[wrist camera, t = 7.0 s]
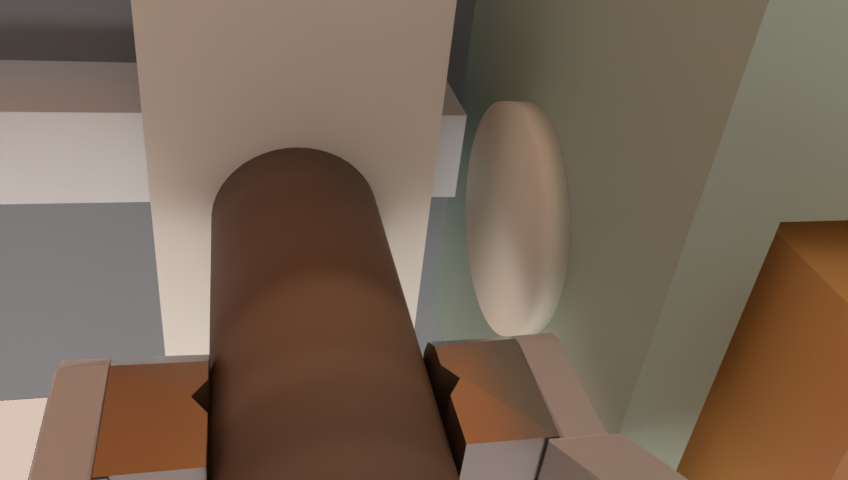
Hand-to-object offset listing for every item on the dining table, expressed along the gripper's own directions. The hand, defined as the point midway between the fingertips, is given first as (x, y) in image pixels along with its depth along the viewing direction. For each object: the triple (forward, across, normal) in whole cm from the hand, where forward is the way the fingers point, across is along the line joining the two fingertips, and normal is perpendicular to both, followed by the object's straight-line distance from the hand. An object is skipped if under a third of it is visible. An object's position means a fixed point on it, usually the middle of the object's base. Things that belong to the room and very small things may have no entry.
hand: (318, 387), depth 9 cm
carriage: (+7, 0, 0) cm, 7 cm away
